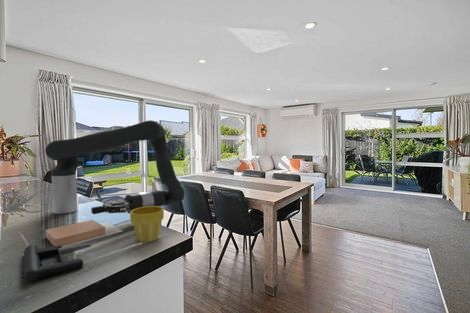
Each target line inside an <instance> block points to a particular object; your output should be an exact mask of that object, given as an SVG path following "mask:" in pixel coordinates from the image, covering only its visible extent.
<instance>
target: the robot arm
mask: <svg viewBox="0 0 470 313" xmlns="http://www.w3.org/2000/svg"><path fill="white" fill-rule="evenodd" d="M140 141H149V142H150V144H151V146H152V149H153V152H154V156H155V164H156V166H155V167H156V169H157V170H156V171H157V174H158V177H159V179H160V182H161V184H162V185H165V186H166V187H167V188H168V189H165V190H151V191H143V192H141V191H140V192H136V193H129V194H126V195H125V197H124V199H123V200H122V199H116V200H113V199H111V200H109V201H106V202H104V203H102V205H98V206H93V207H91V214H92V215H98V214H103V213H105V214H119V213H121V214H122V213H125V214H126V213H128V214H130V212H131V211H132V210H134V209H136V208H140V207H147V206H159V207H164V206H169V205H174V204H177V203H180V202H182V201H183V200H184V199H185V190H184V187H183V185H182V184H181V183H180V181H179V179H178V177H177V176H176V173H175V169H174V166H173V164H172V160H171V156H170V154H169V151H168V150H169V149H168V147H167V140H166V135H165V129H164V127H163V125H162V124H160V123H159V122H158V121H156V120H153V119H151V120H148V119H147V120H145V121H141V122H139V123H136V124H133V125H129V126H124V127H123V126H122V127H119V128H118V127H117V128H113V129H107V130H106V129H105V130H102V131H97V132H94V133H89V134H87V135H83V136H80V137H76V138H68V139H58V140H57V139H56V140H53V141H51V142H49V143H48V144H47V146H45V150H44V151H45V154H46V156H47V157H48V158H49V159H51V160H54V161H57V162H56V166H54V168H52V169H51V189H52V190H51V192H52V193H51V194H52V195H51V196H52V213H53V214H54V215H63V214H70V213H74V212H77V211H78V193H77V169H78V168H79V167H78V166H79V155H84V154H95V153H103V152H104V153H105V152H109V151H113V150H114V151H115V150H117V149H120V148H122V147H124V146H126V145H128V144H130V143H134V142H140Z"/></svg>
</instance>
